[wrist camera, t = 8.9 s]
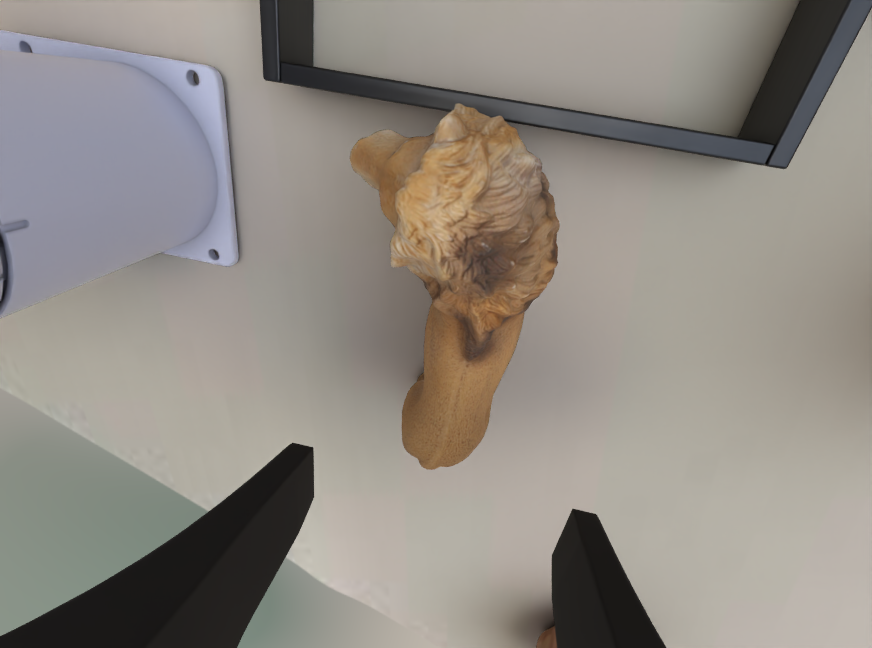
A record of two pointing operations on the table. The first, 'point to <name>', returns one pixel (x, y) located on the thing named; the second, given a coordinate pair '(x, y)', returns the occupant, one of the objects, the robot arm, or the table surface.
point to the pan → (757, 142)
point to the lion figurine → (463, 263)
